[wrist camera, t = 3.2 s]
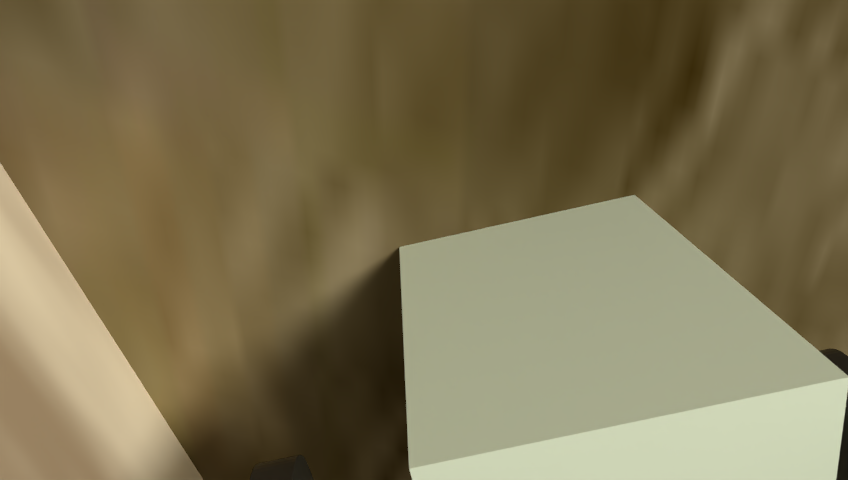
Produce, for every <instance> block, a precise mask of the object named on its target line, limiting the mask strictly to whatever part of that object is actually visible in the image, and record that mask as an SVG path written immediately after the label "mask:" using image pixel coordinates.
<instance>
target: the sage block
mask: <svg viewBox="0 0 848 480" xmlns="http://www.w3.org/2000/svg"><path fill="white" fill-rule="evenodd" d="M399 251H400V274H401V297H402V320H403V343H404V366H405V389H406V412H407V434H408V457H409V470H410V474H411V477H412V480H836V478H837V470H838V462H839V454H840V446H841V439H842V431H843V423H844V415H845V408H846V400H847V392H848V375H846V374H845V373H844V372H843V371H842V370H841V369H839V368H838V367H837V366H836V365H835V364H834V363H832V362H831V361H830V360H829V359H828V358H826V357H825V356H824V355H823V354H822V353H821V352H819V351H818V350H817V349H816V348H815V347H813V346H812V345H811V344H810V343H809V342H808V341H806V340H805V339H804V338H803V337H802V336H800V335H799V334H798V333H797V332H796V331H795V330H793V329H792V328H791V327H790V326H789V325H788V324H786V323H785V322H784V321H783V320H782V319H780V318H779V317H778V316H777V315H776V314H775V313H773V312H772V311H771V310H770V309H769V308H767V307H766V306H765V305H764V304H763V303H762V302H760V301H759V300H758V299H757V298H756V297H754V296H753V295H752V294H751V293H750V292H749V291H747V290H746V289H745V288H744V287H743V286H742V285H740V284H739V283H738V282H737V281H736V280H734V279H733V278H732V277H731V276H730V275H729V274H727V273H726V272H725V271H724V270H723V269H721V268H720V267H719V266H718V265H717V264H716V263H714V262H713V261H712V260H711V259H710V258H708V257H707V256H706V255H705V254H704V253H703V252H701V251H700V250H699V249H698V248H697V247H696V246H694V245H693V244H692V243H691V242H690V241H688V240H687V239H686V238H685V237H684V236H683V235H681V234H680V233H679V232H678V231H677V230H675V229H674V228H673V227H672V226H671V225H670V224H668V223H667V222H666V221H665V220H664V219H662V218H661V217H660V216H659V215H658V214H657V213H655V212H654V211H653V210H652V209H651V208H650V207H648V206H647V205H646V204H645V203H644V202H642V201H641V200H640V199H639V198H638V197H637V196H635V195H632V196H628V197H623V198H619V199H614V200H610V201H605V202H601V203H596V204H592V205H587V206H583V207H578V208H574V209H569V210H565V211H560V212H556V213H551V214H547V215H542V216H538V217H533V218H529V219H524V220H520V221H515V222H511V223H506V224H502V225H497V226H493V227H488V228H484V229H479V230H475V231H470V232H466V233H461V234H457V235H452V236H448V237H443V238H439V239H434V240H430V241H425V242H421V243H416V244H412V245H407V246H403V247H399Z"/></svg>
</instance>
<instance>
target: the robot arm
mask: <svg viewBox="0 0 848 480" xmlns="http://www.w3.org/2000/svg"><path fill="white" fill-rule="evenodd" d="M819 352H821V353H822V354H823V355H824V356H825V357H826V358H828V359H829V360H830V361H831V362H832V363H834V364H835V365H836V366H837V367H838V368H839V369H841V370H842V371H843V372H844V373H845V374H846V375H848V356H847V355H845V354H844V353H842V352H841V351H839V350H836V349H826V350H821V351H819ZM250 480H313V477H312V474H311V472H310V469H309V467H308V464H307V462H306V460H305V458H304V457H303V456H302V455H297V456H293V457H288V458H283V459H278V460H273V461H268V462H263V463H258V464H256V465H255V467H254V469H253V471H252V474H251V477H250ZM836 480H848V392H847V400H846V408H845V415H844V423H843V431H842V439H841V446H840V454H839V462H838V470H837V478H836Z"/></svg>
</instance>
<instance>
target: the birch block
mask: <svg viewBox="0 0 848 480" xmlns="http://www.w3.org/2000/svg"><path fill="white" fill-rule="evenodd" d="M0 480H203V478H202V477H201V475H200V474H199V472H198V471H197V469H196V468H195V466H194V464H193V463H192V461H191V460H190V458H189V457H188V455H187V453H186V452H185V450H184V449H183V447H182V446H181V444H180V443H179V441H178V439H177V438H176V436H175V435H174V433H173V432H172V430H171V429H170V427H169V425H168V424H167V422H166V421H165V419H164V418H163V416H162V414H161V413H160V411H159V410H158V408H157V407H156V405H155V404H154V402H153V400H152V399H151V397H150V396H149V394H148V393H147V391H146V390H145V388H144V386H143V385H142V383H141V382H140V380H139V379H138V377H137V375H136V374H135V372H134V371H133V369H132V368H131V366H130V365H129V363H128V361H127V360H126V358H125V357H124V355H123V354H122V352H121V351H120V349H119V347H118V346H117V344H116V343H115V341H114V340H113V338H112V336H111V335H110V333H109V332H108V330H107V329H106V327H105V326H104V324H103V322H102V321H101V319H100V318H99V316H98V315H97V313H96V311H95V310H94V308H93V307H92V305H91V304H90V302H89V301H88V299H87V297H86V296H85V294H84V293H83V291H82V290H81V288H80V287H79V285H78V283H77V282H76V280H75V279H74V277H73V276H72V274H71V272H70V271H69V269H68V268H67V266H66V265H65V263H64V262H63V260H62V258H61V257H60V255H59V254H58V252H57V251H56V249H55V248H54V246H53V244H52V243H51V241H50V240H49V238H48V237H47V235H46V233H45V232H44V230H43V229H42V227H41V226H40V224H39V223H38V221H37V219H36V218H35V216H34V215H33V213H32V212H31V210H30V209H29V207H28V205H27V204H26V202H25V201H24V199H23V198H22V196H21V194H20V193H19V191H18V190H17V188H16V187H15V185H14V184H13V182H12V180H11V179H10V177H9V176H8V174H7V173H6V171H5V170H4V168H3V166H2V165H1V163H0Z"/></svg>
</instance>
